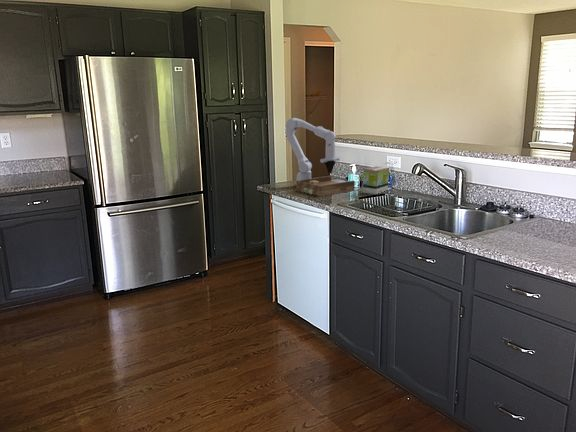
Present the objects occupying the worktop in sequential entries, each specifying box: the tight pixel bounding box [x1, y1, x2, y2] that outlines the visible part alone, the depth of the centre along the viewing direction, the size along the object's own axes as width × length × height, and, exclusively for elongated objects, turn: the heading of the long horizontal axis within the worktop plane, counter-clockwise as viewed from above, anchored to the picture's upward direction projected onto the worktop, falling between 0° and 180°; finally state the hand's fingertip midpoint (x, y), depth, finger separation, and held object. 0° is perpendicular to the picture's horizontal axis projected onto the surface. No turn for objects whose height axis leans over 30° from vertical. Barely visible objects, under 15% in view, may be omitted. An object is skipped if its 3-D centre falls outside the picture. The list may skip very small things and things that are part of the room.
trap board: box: [296, 175, 356, 197], centre depth 315 cm, size 22×28×6 cm
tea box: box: [362, 165, 390, 195], centre depth 309 cm, size 15×10×15 cm, turn 143°
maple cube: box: [310, 180, 319, 185], centre depth 309 cm, size 4×4×4 cm
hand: (329, 172), depth 322 cm, fingers closed
